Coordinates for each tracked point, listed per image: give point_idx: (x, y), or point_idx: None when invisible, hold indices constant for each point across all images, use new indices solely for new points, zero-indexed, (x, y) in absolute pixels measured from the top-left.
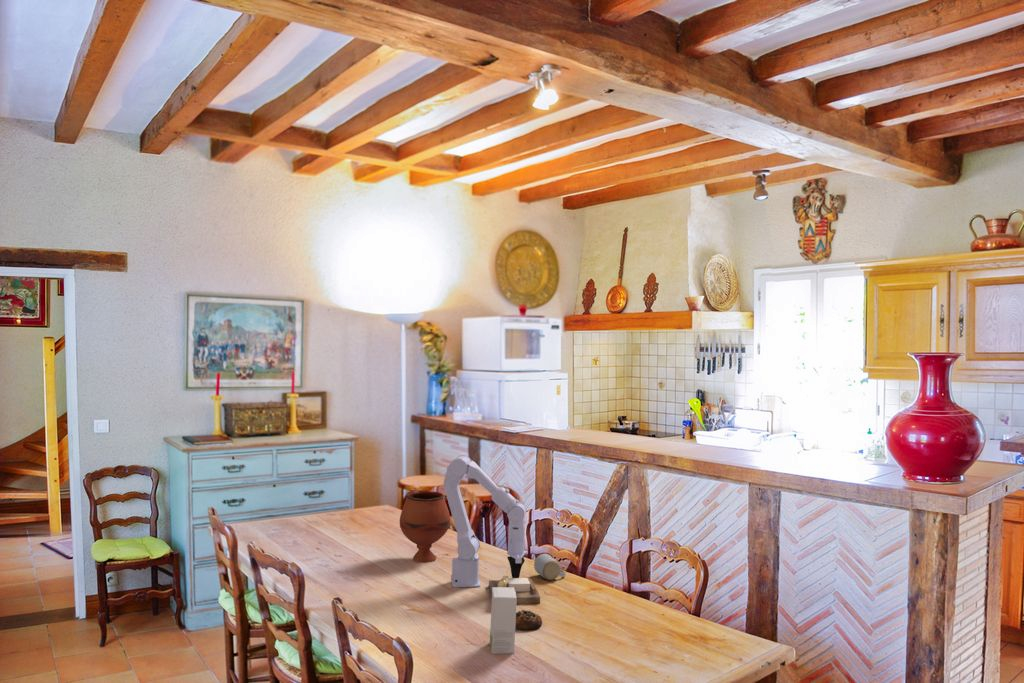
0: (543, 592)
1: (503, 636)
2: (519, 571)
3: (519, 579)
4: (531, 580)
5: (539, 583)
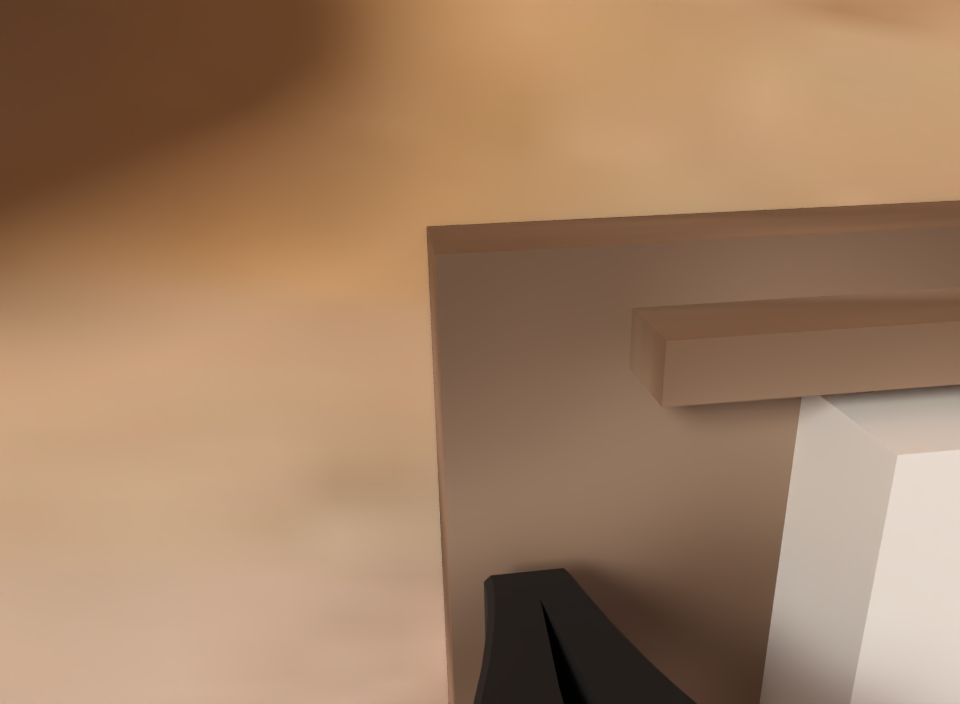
0: (856, 35)
1: None
2: (645, 677)
3: (954, 618)
4: (843, 333)
5: (270, 38)
